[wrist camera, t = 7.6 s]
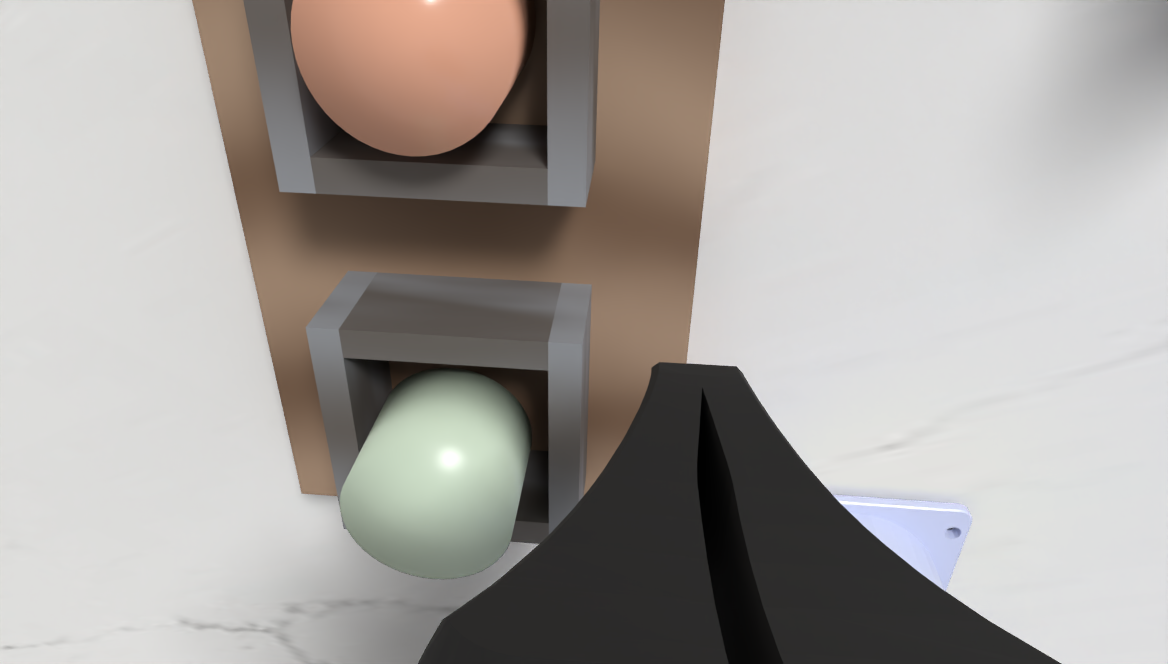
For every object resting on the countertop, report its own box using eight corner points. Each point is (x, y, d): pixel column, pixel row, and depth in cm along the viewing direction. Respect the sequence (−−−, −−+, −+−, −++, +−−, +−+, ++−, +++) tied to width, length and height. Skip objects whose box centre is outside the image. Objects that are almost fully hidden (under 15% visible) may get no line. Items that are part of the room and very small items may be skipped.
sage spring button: (533, 493, 22) (514, 585, 19) (390, 483, 22) (352, 572, 19) (530, 372, 19) (510, 456, 17) (373, 363, 20) (327, 444, 17)
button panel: (669, 478, 27) (670, 596, 22) (324, 453, 27) (262, 563, 23) (742, -253, 16) (772, -293, 12) (184, -262, 17) (25, -302, 13)
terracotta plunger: (537, 114, 18) (514, 161, 15) (363, 107, 18) (309, 151, 15) (534, -87, 16) (508, -75, 13) (338, -92, 16) (271, -82, 13)
